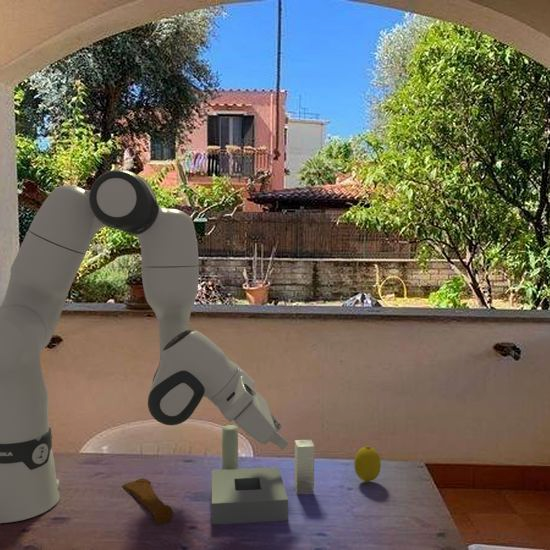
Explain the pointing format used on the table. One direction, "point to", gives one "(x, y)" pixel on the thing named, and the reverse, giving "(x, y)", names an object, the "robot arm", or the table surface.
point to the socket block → (248, 496)
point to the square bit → (304, 467)
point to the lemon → (367, 464)
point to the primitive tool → (150, 500)
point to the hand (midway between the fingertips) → (282, 436)
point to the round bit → (230, 447)
